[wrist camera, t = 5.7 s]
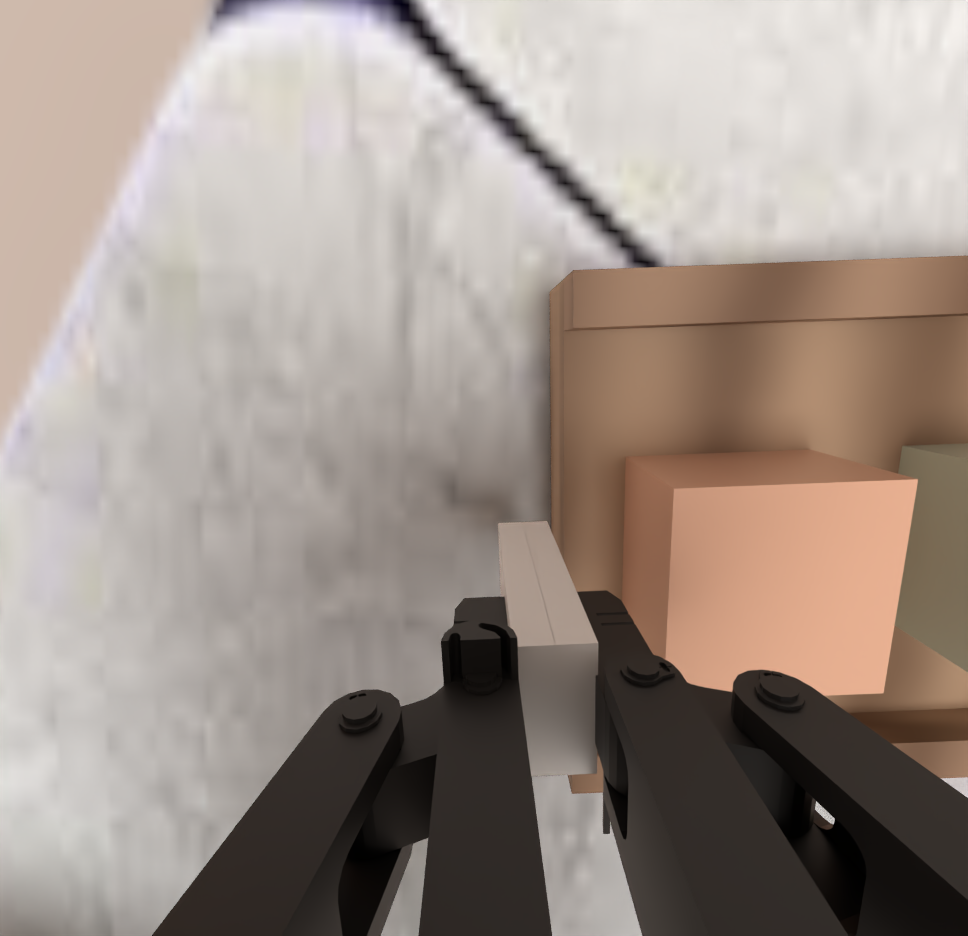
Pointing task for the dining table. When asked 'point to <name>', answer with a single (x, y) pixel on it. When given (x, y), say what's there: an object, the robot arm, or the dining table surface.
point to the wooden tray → (762, 414)
